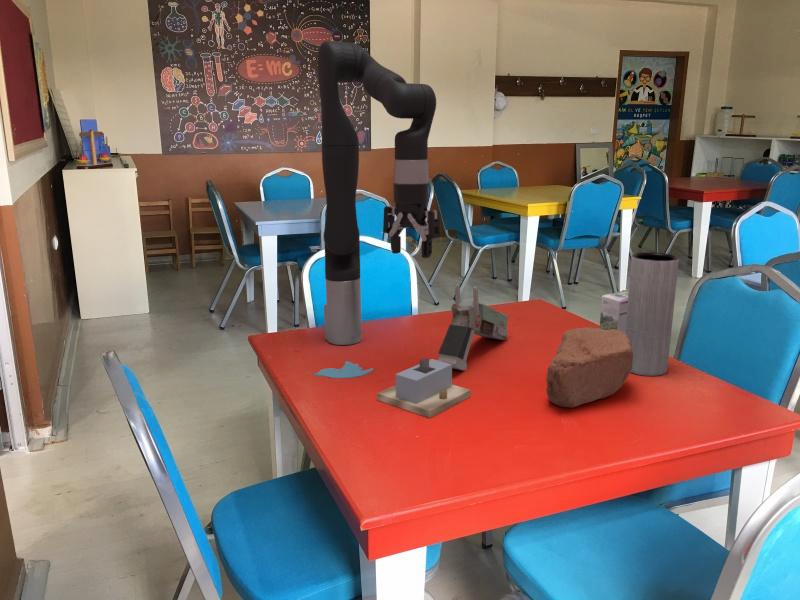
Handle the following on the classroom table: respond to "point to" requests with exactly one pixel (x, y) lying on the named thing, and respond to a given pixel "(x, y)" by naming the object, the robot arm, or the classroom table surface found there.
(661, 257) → the vase
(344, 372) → the decorative object
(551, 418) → the classroom table surface
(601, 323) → the syrup box
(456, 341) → the ray gun
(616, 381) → the stone
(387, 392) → the post base
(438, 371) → the grey rectangular block
